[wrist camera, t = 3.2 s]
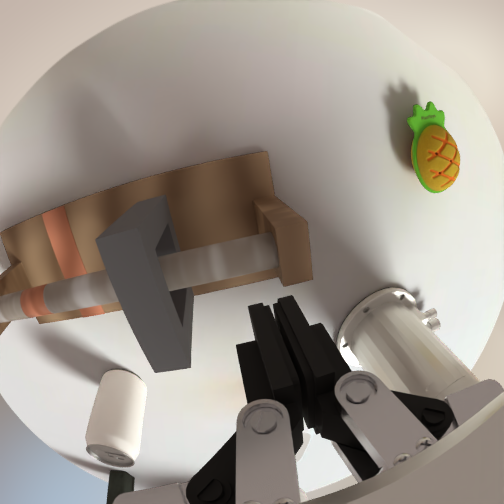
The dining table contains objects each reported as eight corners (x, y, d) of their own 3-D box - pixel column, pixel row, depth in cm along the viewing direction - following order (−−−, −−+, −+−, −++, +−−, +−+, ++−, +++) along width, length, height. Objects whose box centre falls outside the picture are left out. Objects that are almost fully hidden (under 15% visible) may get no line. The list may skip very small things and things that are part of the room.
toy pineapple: (406, 195, 27) (438, 207, 22) (385, 109, 23) (418, 106, 18) (443, 178, 27) (474, 187, 22) (426, 100, 23) (458, 98, 18)
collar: (165, 194, 20) (137, 227, 12) (193, 294, 24) (190, 367, 16) (137, 202, 20) (94, 239, 12) (168, 299, 24) (154, 372, 15)
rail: (265, 151, 24) (298, 154, 15) (283, 270, 28) (316, 326, 19) (4, 230, 21) (-47, 263, 13) (42, 319, 26) (9, 369, 17)
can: (101, 362, 29) (77, 436, 18) (148, 373, 31) (137, 452, 20) (104, 391, 31) (87, 459, 20) (146, 402, 33) (139, 472, 22)
